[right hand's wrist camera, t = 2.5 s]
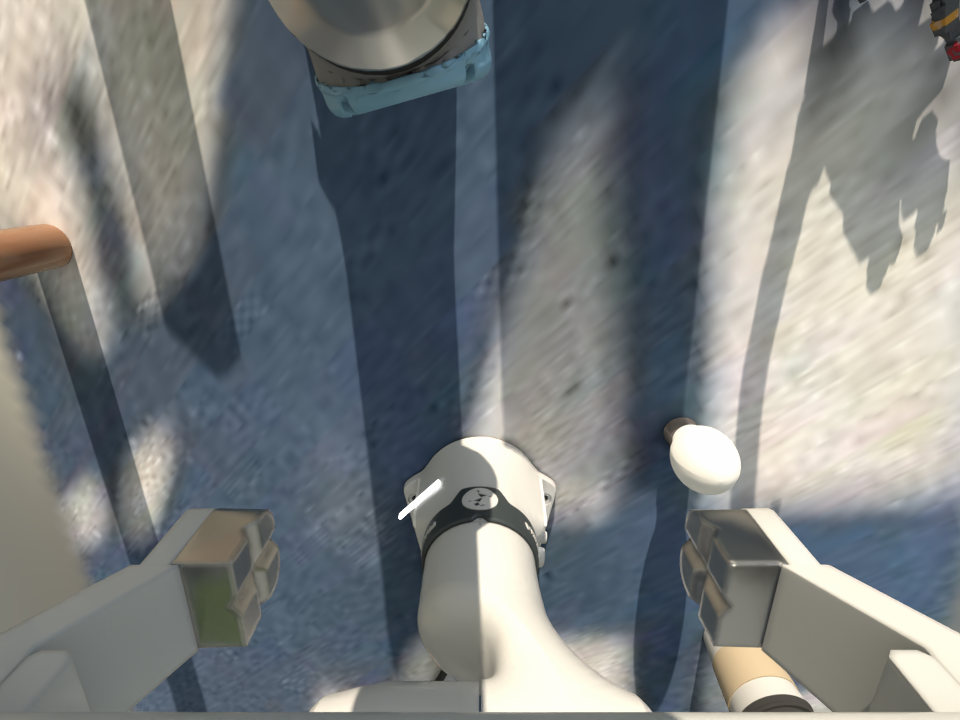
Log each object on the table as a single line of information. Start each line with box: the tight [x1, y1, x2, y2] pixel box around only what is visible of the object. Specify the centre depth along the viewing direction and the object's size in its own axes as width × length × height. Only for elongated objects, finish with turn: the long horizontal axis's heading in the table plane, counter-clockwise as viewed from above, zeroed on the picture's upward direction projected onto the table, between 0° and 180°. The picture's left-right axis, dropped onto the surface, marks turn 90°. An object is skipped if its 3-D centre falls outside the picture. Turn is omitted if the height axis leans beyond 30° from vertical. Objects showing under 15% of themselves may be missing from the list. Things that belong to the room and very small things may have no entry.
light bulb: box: [664, 418, 741, 495], centre depth 58 cm, size 7×7×11 cm
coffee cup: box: [703, 631, 814, 712], centre depth 67 cm, size 9×9×15 cm
